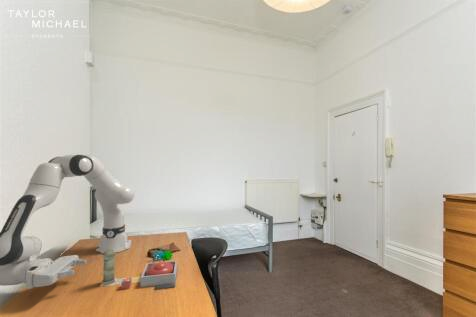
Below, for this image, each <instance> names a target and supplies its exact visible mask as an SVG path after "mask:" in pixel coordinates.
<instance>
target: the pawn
mask: <svg viewBox="0 0 476 317" xmlns="http://www.w3.org/2000/svg"><path fill="white" fill-rule="evenodd" d="M102 254H103V253H102ZM102 258H103V279H102V281H101V284H102V285H108V286H111V285H110V284H113V283H114V282H115V279H116V277H115V258H116V253H115V251H114V250H111V249H109V250H107V251H105V252H104V254H103V255H102ZM115 283H116V282H115ZM115 283H114V284H115Z"/></svg>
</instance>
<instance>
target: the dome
mask: <svg viewBox="0 0 476 317" xmlns="http://www.w3.org/2000/svg"><path fill="white" fill-rule="evenodd" d="M154 263H155V264H152V265H150V266H149V267H148V268H147V276H152V275H162V274H172V273H173V264H172V263H169V262H168V261H159V263H157V262H154Z"/></svg>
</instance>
